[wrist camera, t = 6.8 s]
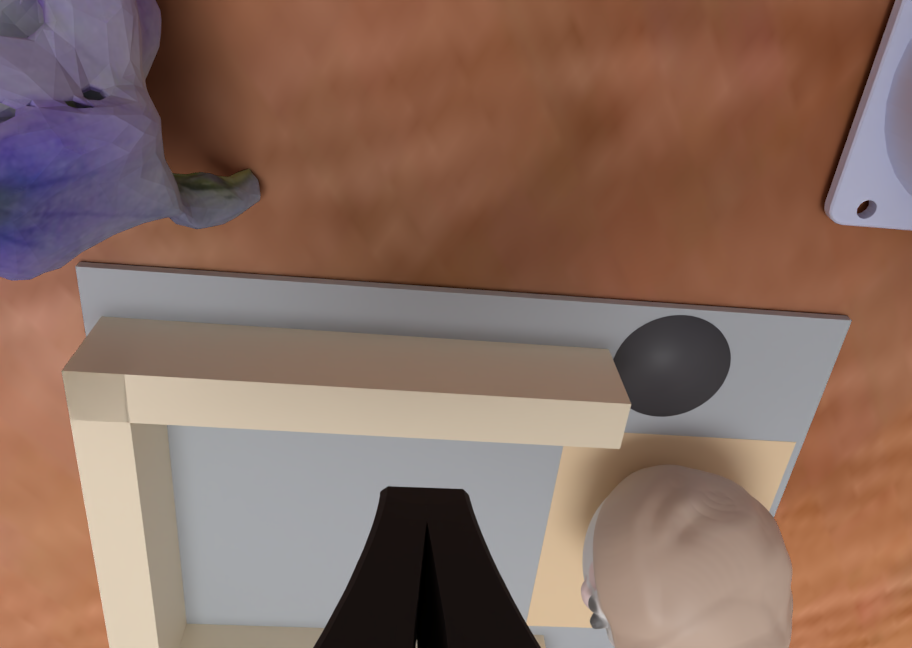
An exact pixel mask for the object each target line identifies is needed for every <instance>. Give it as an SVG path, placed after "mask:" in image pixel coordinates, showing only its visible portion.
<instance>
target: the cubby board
mask: <svg viewBox="0 0 912 648" xmlns="http://www.w3.org/2000/svg"><path fill="white" fill-rule="evenodd" d="M75 267H76V273H77V280H78V286H79V293H80V300H81V306H82V313H83V319H84V326H85V333H86V338H85V339H84V341H83V342H82V344H81V345H80V346H79V348H78V349H77V350H76V352H75V353H74V354H73V356H72V357H71V359H70V360H69V361H68V363H67V364H66V365H65V367H64V368H63V369H62V376H63V382H64V388H65V393H66V399H67V405H68V411H69V417H70V422H71V428H72V434H73V440H74V445H75V451H76V457H77V463H78V468H79V474H80V480H81V486H82V491H83V497H84V503H85V509H86V515H87V520H88V526H89V532H90V538H91V543H92V549H93V555H94V561H95V566H96V572H97V578H98V584H99V590H100V595H101V601H102V607H103V613H104V618H105V624H106V630H107V636H108V641H109V647H110V648H313V647H314V645H315V644H316V642H317V640H318V639H319V637H320V635H321V634H322V632H323V630H324V628H325V626H326V624H327V623H328V621H329V619H330V617H331V615H332V613H333V611H334V610H335V608H336V606H337V604H338V602H339V600H340V598H341V596H342V595H343V593H344V591H345V589H346V587H347V585H348V582H349V580H350V578H351V576H352V574H353V571H354V569H355V567H356V565H357V562H358V560H359V558H360V556H361V553H362V551H363V549H364V546H365V544H366V541H367V538H368V536H369V533H370V530H371V527H372V525H373V522H374V518H375V515H376V511H377V507H378V503H379V497H380V491H382V490H383V489H385V488H386V487H387V486H396V487H423V488H450V489H464V490H465V491H466V492H467V493H468V494H469V497H470V501H471V504H472V507H473V510H474V513H475V516H476V519H477V522H478V525H479V527H480V530H481V532H482V535H483V537H484V540H485V542H486V544H487V547H488V549H489V551H490V554H491V556H492V558H493V560H494V562H495V564H496V566H497V569H498V571H499V573H500V574H501V576H502V578H503V580H504V582H505V584H506V586H507V588H508V590H509V592H510V594H511V596H512V598H513V600H514V602H515V604H516V606H517V607H518V609H519V611H520V613H521V615H522V616H523V618H524V620H525V622H526V623H527V625H528V627H529V628H530V630H531V632H532V634H533V635H534V637H535V639H536V640H537V642H538V644H539V645H540V647H541V648H615V647H614V646H613V645H612V644H611V643H610V641H609V639H608V635H607V631H606V628H602V629H594V628H592V626H591V624H590V618H591V616H592V614H593V612H592V611H591V610H590V609H589V608H588V607H587V606H586V605H585V604H584V602H583V600H582V596H581V586H582V584H583V582H584V577H583V566H582V557H583V546H584V540H585V536H586V532H587V529H588V526H589V524H590V521H591V519H592V517H593V515H594V514H595V512H596V510H597V509H598V507H599V506H600V505H601V503H602V502H603V501H604V500H605V499H606V498H607V497H608V496H609V494H610V493H611V492H612V491H613V489H614V488H615V487H616V486H617V485H618V484H619V483H620V482H621V481H622V480H624V479H625V478H626V477H627V476H629V475H630V474H632V473H634V472H636V471H638V470H641V469H644V468H647V467H652V466H657V465H666V464H671V465H679V466H684V467H688V468H692V469H697V470H702V471H705V472H710V473H713V474H717V475H720V476H722V477H725V478H727V479H729V480H732V481H733V482H735V483H737V484H738V485H740V486H741V487H743V488H744V489H745V490H746V491H747V492H748V493H749V494H750V495H751V496H752V497H754V498H755V499H756V500H758V501H759V502H760V503H761V504H762V505H763V506H764V507H765V508H766V509H767V510H768V511H769V512H770V514H771V515H772V516H773V518H774V515H775V513H776V510H777V508H778V505H779V503H780V500H781V498H782V495H783V493H784V490H785V487H786V485H787V482H788V480H789V477H790V475H791V472H792V470H793V467H794V465H795V462H796V460H797V457H798V455H799V452H800V450H801V447H802V445H803V442H804V440H805V437H806V435H807V432H808V429H809V427H810V424H811V422H812V419H813V417H814V414H815V412H816V409H817V407H818V404H819V402H820V399H821V397H822V394H823V392H824V389H825V387H826V384H827V382H828V379H829V377H830V374H831V371H832V369H833V366H834V364H835V361H836V359H837V356H838V354H839V351H840V349H841V346H842V344H843V341H844V339H845V336H846V334H847V331H848V329H849V326H850V324H851V321H852V320H851V319H850V318H849V317H848V316H845V315H830V314H816V313H802V312H788V311H774V310H759V309H745V308H731V307H717V306H702V305H688V304H674V303H660V302H645V301H631V300H617V299H603V298H588V297H574V296H560V295H546V294H531V293H517V292H503V291H489V290H474V289H460V288H446V287H432V286H418V285H403V284H389V283H375V282H361V281H346V280H332V279H318V278H304V277H289V276H275V275H261V274H247V273H232V272H218V271H204V270H190V269H175V268H161V267H147V266H133V265H119V264H104V263H90V262H79V263H78V264H77V265H76V266H75ZM416 648H417V640H416Z"/></svg>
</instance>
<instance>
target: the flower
mask: <svg viewBox="0 0 912 648" xmlns="http://www.w3.org/2000/svg"><path fill="white" fill-rule="evenodd" d="M160 38H161V12H160V9H159V6H158V4H157V2H156V0H0V277H3V278H6V279H9V280H29V279H32V278H34V277H36V276H38V275H41V274H43V273H45V272H49V271H52V270H55V269H58V268H61V267H62V266H64V265H65V264H66V263H68V262H69V261H71V260H72V259H73V258H75V257H76V256H77V255H79V254H80V253H81V252H83V251H85V250H87V249H89V248H91V247H92V246H94V245H96V244H98V243H100V242H102V241H103V240H105V239H107V238H109V237H111V236H113V235H115V234H117V233H120V232H122V231H125V230H127V229H130V228H132V227H135V226H137V225H140V224H142V223H146V222H150V221H154V220H158V219H162V218H167V217H169V218H170V219H171V220H172V221H174V222H175V223H176V224H179V225H183V226H187V227H190V228H194V229H201V228H207V227H212V226H216V225H221V224H225V223H226V222H228V221H230V220H232V219H234V218H235V217H237V216H239V215H240V214H241V213H243V212H244V211H246V210H247V209H248V208H250V207H251V206H253V205H254V204H255V203H257V202H258V201H259V200H260V196H261V195H260V188H259V182H258V179H257V178H256V177H255V176H254V175H253V174H252V172H251V170H250V169H246V170H243V171H240V172H238V173H235V174H233V175H231V176H229V177H224V176H216V175H213V174H210V173H203V172H198V173H191V174H174V173H172V172H171V170H170V168H169V166H168V164H167V162H166V160H165V157H164V149H163V141H162V130H161V118H160V116H159V114H158V112H157V110H156V108H155V106H154V104H153V102H152V100H151V98H150V96H149V94H148V92H147V87H146V82H145V80H146V77H147V75H148V73H149V70H150V68H151V66H152V63H153V61H154V59H155V56H156V54H157V51H158V49H159V45H160Z"/></svg>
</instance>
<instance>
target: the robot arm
mask: <svg viewBox="0 0 912 648" xmlns="http://www.w3.org/2000/svg"><path fill="white" fill-rule="evenodd" d="M867 200H869V206H868V207H867V209H866V210H864V211H863V212H861V213H857V208H858V207H859V205H860V204H861V203H863V202H864V201H867ZM824 210H825V213H826V215H827V216H828V217H829V218H830V219H831V220H832V221H834V222H835V223H837V224H841V225H850V226H863V227H875V228H887V229H900V230H912V0H895V3H894V6H893V9H892V11H891V14H890V17H889V20H888V23H887V26H886V29H885V32H884V34H883V37H882V40H881V43H880V46H879V49H878V52H877V55H876V57H875V60H874V63H873V66H872V69H871V72H870V75H869V78H868V80H867V83H866V86H865V89H864V92H863V95H862V98H861V100H860V103H859V106H858V109H857V112H856V115H855V118H854V121H853V123H852V126H851V129H850V132H849V135H848V138H847V141H846V144H845V146H844V149H843V152H842V155H841V158H840V161H839V164H838V167H837V169H836V172H835V175H834V178H833V181H832V184H831V187H830V190H829V192H828V195H827V198H826V201H825V207H824ZM416 640H417V648H541V647H540V645H539V644H538V642H537V640H536V639H535V637H534V635H533V634H532V632H531V630H530V628H529V627H528V625H527V623H526V622H525V620H524V618H523V616H522V615H521V613H520V611H519V609H518V607H517V606H516V604H515V602H514V600H513V598H512V596H511V594H510V592H509V590H508V588H507V586H506V584H505V582H504V580H503V578H502V576H501V574H500V573H499V571H498V569H497V566H496V564H495V562H494V560H493V558H492V556H491V554H490V551H489V549H488V547H487V544H486V542H485V540H484V537H483V535H482V532H481V530H480V527H479V525H478V522H477V519H476V516H475V513H474V510H473V507H472V504H471V501H470V497H469V494H468V493H467V492H466V491H465V490H464V489H450V488H423V487H396V486H387V487H386V488H385V489H383V490H382V491H380V497H379V503H378V507H377V511H376V515H375V518H374V522H373V525H372V527H371V530H370V533H369V536H368V538H367V541H366V544H365V546H364V549H363V551H362V553H361V556H360V558H359V560H358V562H357V565H356V567H355V569H354V571H353V574H352V576H351V578H350V580H349V582H348V585H347V587H346V589H345V591H344V593H343V595H342V596H341V598H340V600H339V602H338V604H337V606H336V608H335V610H334V611H333V613H332V615H331V617H330V619H329V621H328V623H327V624H326V626H325V628H324V630H323V632H322V634H321V635H320V637H319V639H318V640H317V642H316V644H315V645H314V647H313V648H416Z"/></svg>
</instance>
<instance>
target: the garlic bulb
mask: <svg viewBox="0 0 912 648" xmlns="http://www.w3.org/2000/svg"><path fill="white" fill-rule="evenodd" d="M582 566H583V577H584V582H583V584H582V586H581V596H582V600H583V602H584V604H585V605H586V606H587V607H588V608H589V609H590V610H591V611H592V612H593V614H592V616H591V618H590V624H591V626H592V628H594V629H602V628H606V631H607V635H608V639H609V641H610V643H611V644H612V645H613V646H614V647H615V648H789V645H790V640H791V631H792V613H793V597H792V591H791V580H792V564H791V560H790V557H789V554H788V552H787V550H786V547H785V544H784V541H783V538H782V535H781V532H780V530H779V527H778V525H777V523H776V521H775V519H774V518H773V516H772V515H771V514H770V512H769V511H768V510H767V509H766V508H765V507H764V506H763V505H762V504H761V503H760V502H759V501H758V500H756V499H755V498H754V497H752V496H751V495H750V494H749V493H748V492H747V491H746V490H745V489H744V488H743V487H741V486H740V485H738V484H737V483H735V482H733V481H732V480H729V479H727V478H725V477H722V476H720V475H717V474H713V473H710V472H705V471H702V470H697V469H692V468H688V467H684V466H679V465H671V464H666V465H657V466H652V467H647V468H644V469H641V470H638V471H636V472H634V473H632V474H630V475H629V476H627V477H626V478H625V479H624V480H622V481H621V482H620V483H619V484H618V485H617V486H616V487H615V488H614V489H613V491H612V492H611V493H610V494H609V496H608V497H607V498H606V499H605V500H604V501H603V502H602V503H601V505H600V506H599V507H598V509H597V510H596V512H595V514H594V515H593V517H592V519H591V521H590V524H589V526H588V529H587V532H586V536H585V540H584V546H583V557H582Z"/></svg>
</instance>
